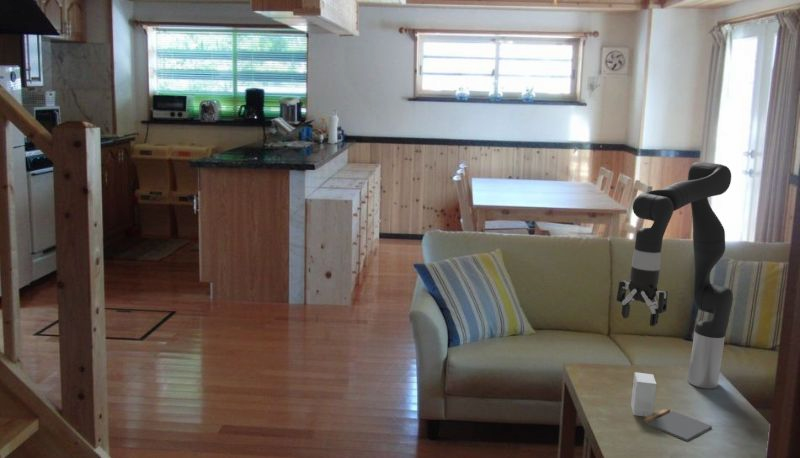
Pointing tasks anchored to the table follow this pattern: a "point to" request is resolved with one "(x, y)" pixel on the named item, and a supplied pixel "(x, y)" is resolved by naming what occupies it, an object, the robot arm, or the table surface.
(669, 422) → the rubber mat
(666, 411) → the oak ledge
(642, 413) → the small box
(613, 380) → the table surface
